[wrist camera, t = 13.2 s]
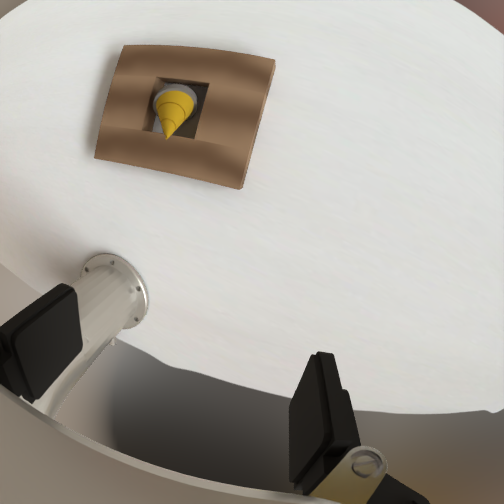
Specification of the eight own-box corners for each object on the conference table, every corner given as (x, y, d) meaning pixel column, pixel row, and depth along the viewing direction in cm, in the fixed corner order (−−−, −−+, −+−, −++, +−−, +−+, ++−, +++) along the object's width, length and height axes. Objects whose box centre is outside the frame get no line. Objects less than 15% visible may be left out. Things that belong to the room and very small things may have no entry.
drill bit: (208, 87, 31) (202, 136, 27) (183, 112, 35) (173, 163, 30) (174, 66, 28) (158, 111, 24) (151, 94, 31) (132, 143, 27)
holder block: (242, 187, 35) (239, 189, 32) (105, 157, 35) (94, 158, 32) (275, 67, 30) (275, 59, 27) (133, 51, 30) (123, 45, 27)
